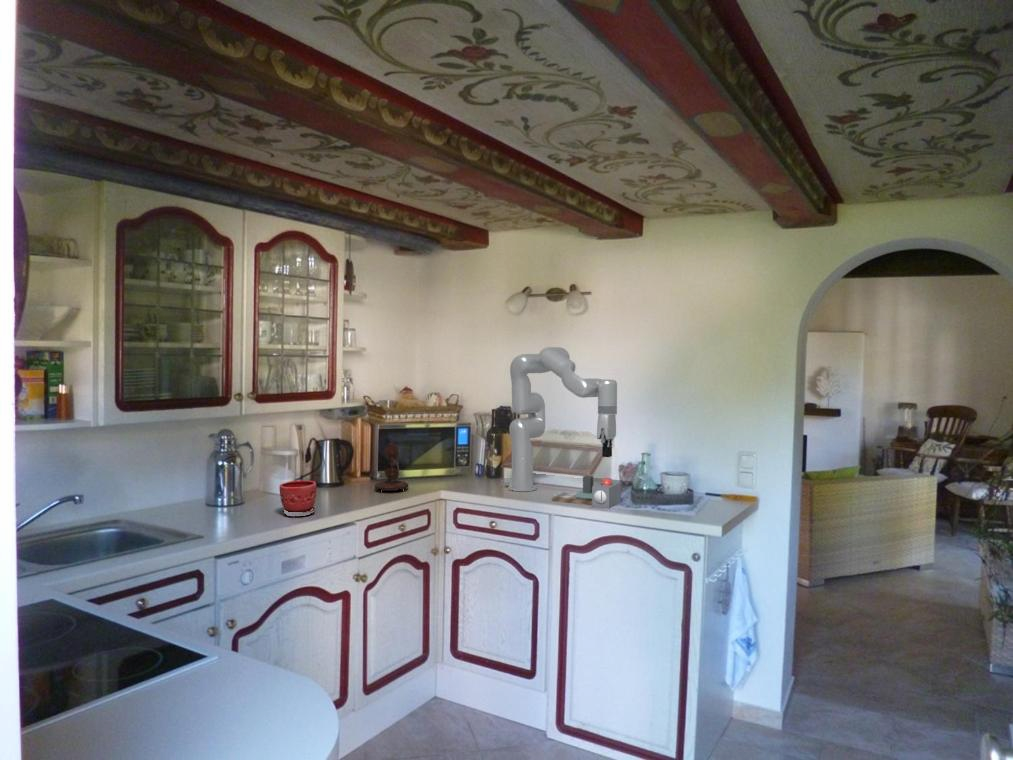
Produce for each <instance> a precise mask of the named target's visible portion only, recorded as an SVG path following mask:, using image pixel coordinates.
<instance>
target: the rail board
mask: <svg viewBox="0 0 1013 760" xmlns="http://www.w3.org/2000/svg"><path fill="white" fill-rule="evenodd" d="M551 502H559V503H570V504H579V505H588V506H592V499H590V498H580V497H576V493H571V492H562V491H561V492H558V494H553V496H551Z"/></svg>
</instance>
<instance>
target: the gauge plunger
mask: <svg viewBox="0 0 1013 760" xmlns="http://www.w3.org/2000/svg"><path fill="white" fill-rule="evenodd" d="M601 482H602V485H608V486H611V482H613V480H612V478H608V477H607V478H606V477H605V478H602V479H601Z"/></svg>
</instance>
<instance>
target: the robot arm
mask: <svg viewBox="0 0 1013 760" xmlns="http://www.w3.org/2000/svg"><path fill="white" fill-rule="evenodd" d="M576 369H577V368H576V364H575V362H574V361H573V360H572V359H571V357H570V353H569V351H568V350H566V349H565V348H564V347H560V346H557V347H555V346H549V347H548V346H547V347H545V348H542V349H541V350H540V352H539V353H524V354H520V355H517V356H516V357H514V358H513V359H512V361H511V363H510V366H509V374H510V375H509V376H510V382H511V406H512V407H511V408H512V411H513V413H515V414H516V415H521V416H522V415H527V417H526V416H525V417H524V416H523V417H518V418H516V419H513V420H512V421H511V422H510V424H509V435H510V444H511V477H510V478H504V484H509V485H507V489H508V490H509V491H512V490H513V492H532V491H536V490H537V486H536V485H535V484H534V447H533V443H532V442H531V439H537V438H540V437H542V436H543V435H544V433H545V430H546V403H545V400H544V398H543V396H542V395H541V394H540V393H538V392H532V383H531V379H530V378H529V375H528V374H545V373H548V372H552V373H553V374H554V375H556V376H557V377H559V378H560V379H561V382H562V384H563V386H564V388H565V389H567V390H568V392H570V393H572V394H574V395H575V396H577V397H579V398H585V399H586V398H597V415H598V416H597V422H596V423H597V424H596V439H597V440H600V443H601V450H602V454H601V455H602V457H603V458H611V457H612V456H613V442H614V439H615V438H616V436H617V420H616V419H617V417H616V415H618V382H617V381H616V379H601V378H582V377H580V376H579V375H578V374H576V373H575V372H576Z"/></svg>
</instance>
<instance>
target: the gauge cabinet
mask: <svg viewBox="0 0 1013 760" xmlns="http://www.w3.org/2000/svg"><path fill="white" fill-rule="evenodd" d="M620 503H622V482H621V481H612V482H611V486H608V485H602V481H601V482H599V483H597V484H593V486H592V505H591V506H592V508H600V509H601V508H603V509H610V508H612V507H614V506H617V505H618V504H620Z"/></svg>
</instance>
